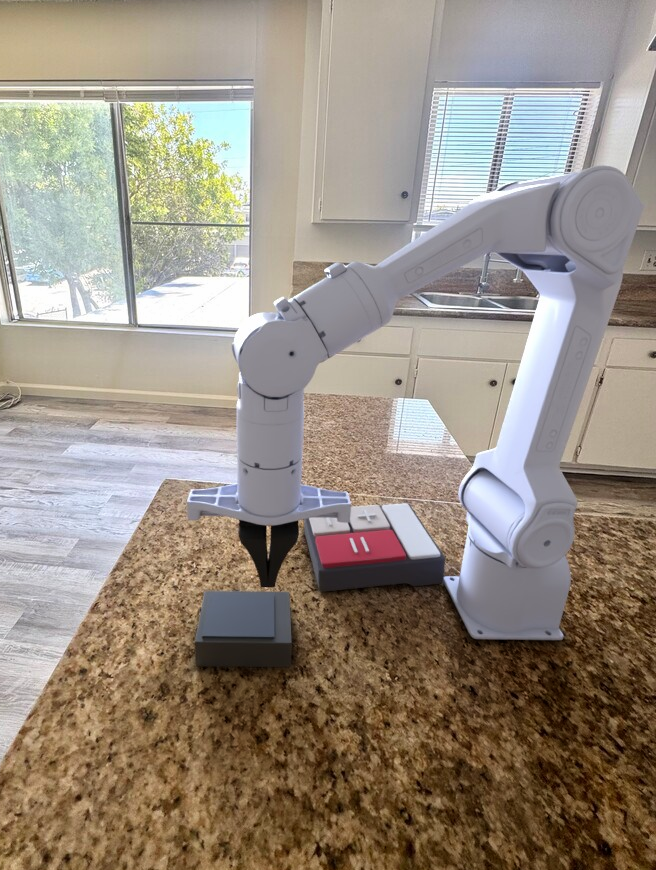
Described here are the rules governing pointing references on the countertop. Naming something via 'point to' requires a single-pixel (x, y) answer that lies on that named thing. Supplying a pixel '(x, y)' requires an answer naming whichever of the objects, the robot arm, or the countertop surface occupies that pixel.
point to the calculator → (373, 549)
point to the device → (244, 629)
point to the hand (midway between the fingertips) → (267, 579)
